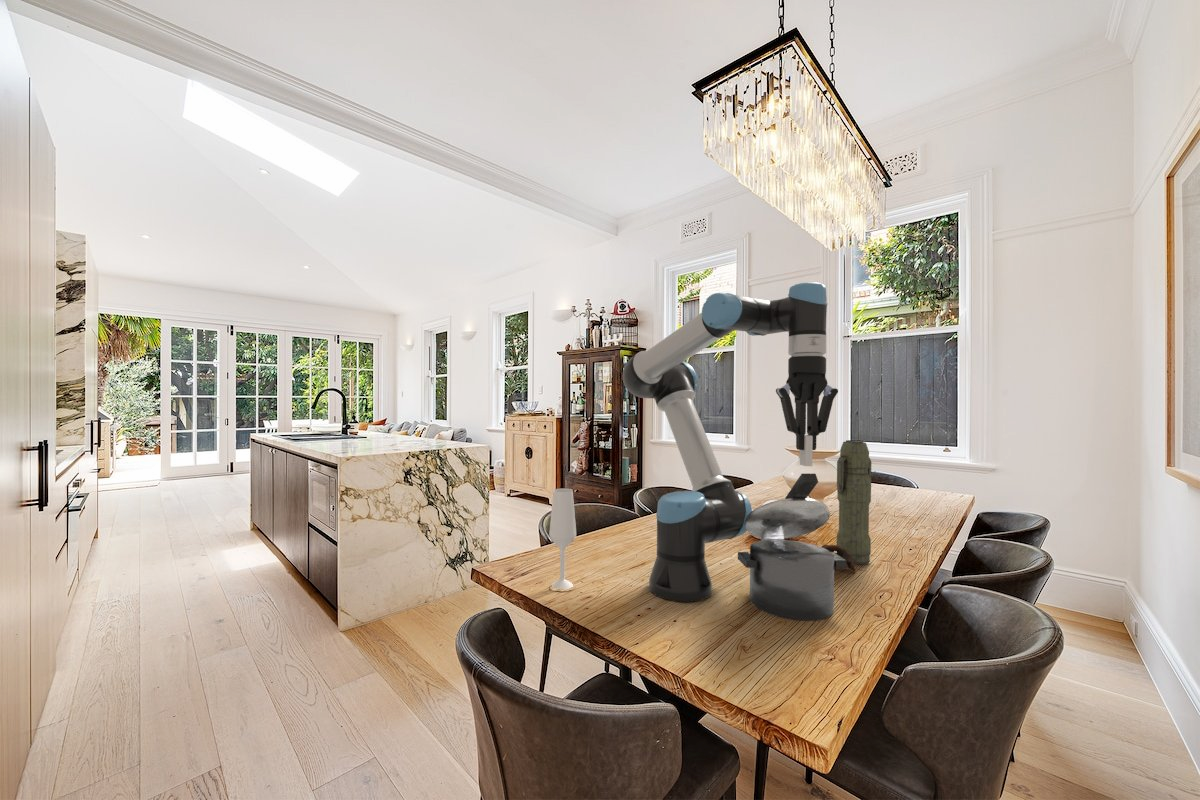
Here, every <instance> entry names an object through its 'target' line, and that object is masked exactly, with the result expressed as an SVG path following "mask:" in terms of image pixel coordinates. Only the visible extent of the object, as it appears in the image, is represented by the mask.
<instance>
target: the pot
mask: <svg viewBox="0 0 1200 800" xmlns="http://www.w3.org/2000/svg"><path fill="white" fill-rule="evenodd" d="M835 553H836V552H835V551H834V552H830V551H829V550H827V549H825V548H822V546H819V545H817V544H812V543H808V542H803V541H797V540H790V539H789V540H788V539H785V538H784V539H765V538H760V540H758V541H754V542H752V543H751V544H750V547H749V552H748V551H738V552H737V560H739V561H738V562H740V563H741V564H742V565H743V566H744V567H745V568H748V569H749V600H750V602H752V603H751V604H754V605H755V606H754V605H753V606H754V607H756V608H757V609H758V610H760V609H761V611H762V610H763V612H765V613H766V612H767V613H766V614H769V615H771V614H772V615H771V616H775V617H777V618H782V619H786V620H791V621H802V622H803V621H805V622H811V621H812V622H813V621H821V620H822V621H823V620H825V619H828V618H831V616H832V615H833V614H834V609H835V602H834V601H835V571H834V567H836V568H846V560H845V559H843V558H842V557H840V556H838V555H837V554H835Z"/></svg>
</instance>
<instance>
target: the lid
mask: <svg viewBox="0 0 1200 800" xmlns="http://www.w3.org/2000/svg"><path fill="white" fill-rule="evenodd" d="M817 484H819V479H818V476H817V474H816V473H801V474H800V475H799V476H798V479H796V481H795V483H794V485H793V486H792V487H791V489H789V492H788V493H787V495H786V496H785V498H784V499H783V498H782V499H777V500H774V501H771V502H768V503H765V504H763V505H760V506H758V507H756V508H755V509H752V512H750V513H749V514H748V515H747V517H746V519H745V526H746V529H747V531H746V532H747V533H749V534H750V535H751V536H753V537H756V538H760V539H761V538H765V539H784V540H785V539H792V538H795V537H802V536H803V535H806V534H810V533H812V532H815V531H817V530H819V529H820V528H822V527H824V525H826V524H827V522H828V521H829V520H830V517H831V514H830V510H829V508H828V506H827V504H825V503H824V502H823V501H820V500H818V499H814V498H808V496H810V493H811V492H812V491H813V490H814V489H815V487H816V486H817Z"/></svg>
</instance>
